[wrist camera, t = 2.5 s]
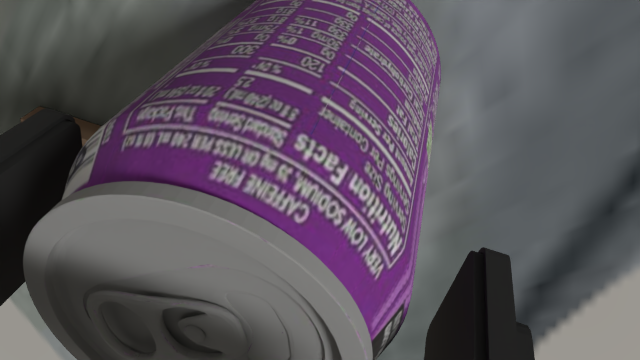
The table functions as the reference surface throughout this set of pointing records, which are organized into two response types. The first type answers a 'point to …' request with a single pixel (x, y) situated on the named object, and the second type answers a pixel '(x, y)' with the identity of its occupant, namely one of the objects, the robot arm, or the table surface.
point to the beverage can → (252, 195)
